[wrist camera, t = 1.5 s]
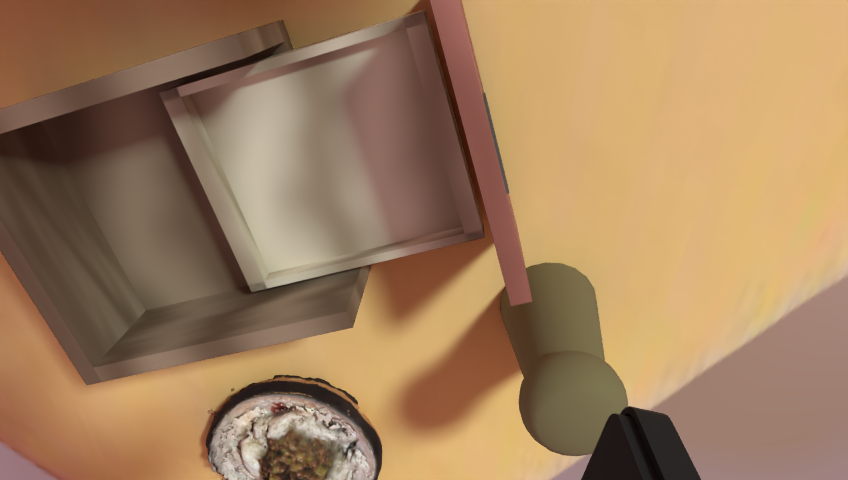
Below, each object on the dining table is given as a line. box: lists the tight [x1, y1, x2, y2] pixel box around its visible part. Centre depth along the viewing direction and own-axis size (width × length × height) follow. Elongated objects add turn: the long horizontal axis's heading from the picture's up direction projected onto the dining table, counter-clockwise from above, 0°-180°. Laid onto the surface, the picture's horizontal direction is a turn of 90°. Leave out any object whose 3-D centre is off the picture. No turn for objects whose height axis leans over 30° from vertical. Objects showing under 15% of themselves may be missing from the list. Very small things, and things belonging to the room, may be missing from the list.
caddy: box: [0, 20, 372, 385], centre depth 32 cm, size 16×15×7 cm
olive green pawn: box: [500, 263, 628, 456], centre depth 32 cm, size 6×6×11 cm
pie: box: [202, 375, 382, 480], centre depth 42 cm, size 15×15×4 cm
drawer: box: [159, 0, 532, 306], centre depth 29 cm, size 16×14×8 cm
